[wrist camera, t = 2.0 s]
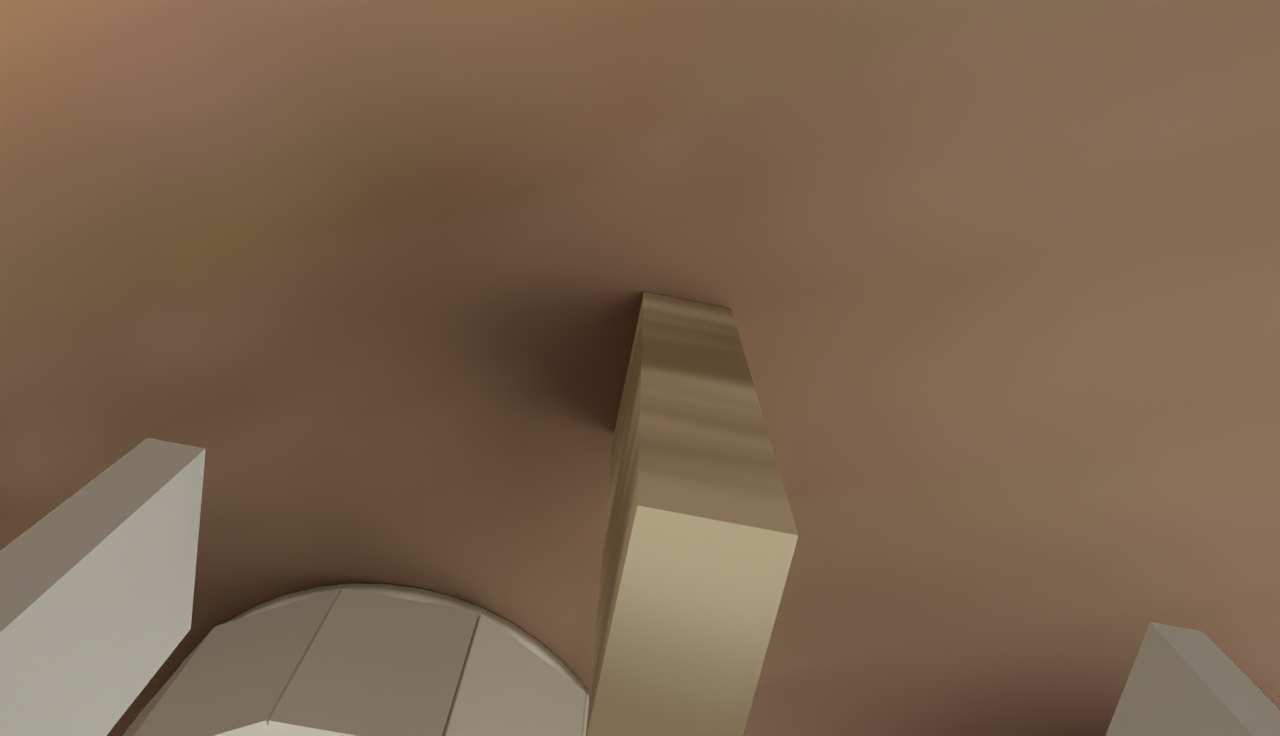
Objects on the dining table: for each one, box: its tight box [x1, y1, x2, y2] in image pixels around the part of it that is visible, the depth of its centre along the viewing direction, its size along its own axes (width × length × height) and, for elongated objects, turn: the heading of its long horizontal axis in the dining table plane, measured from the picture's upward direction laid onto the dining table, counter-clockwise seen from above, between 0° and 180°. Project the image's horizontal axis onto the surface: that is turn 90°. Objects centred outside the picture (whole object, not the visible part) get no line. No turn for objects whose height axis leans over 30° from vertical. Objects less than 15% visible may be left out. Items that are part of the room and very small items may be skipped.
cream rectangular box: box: [586, 292, 798, 736], centre depth 18 cm, size 4×2×11 cm, turn 169°
